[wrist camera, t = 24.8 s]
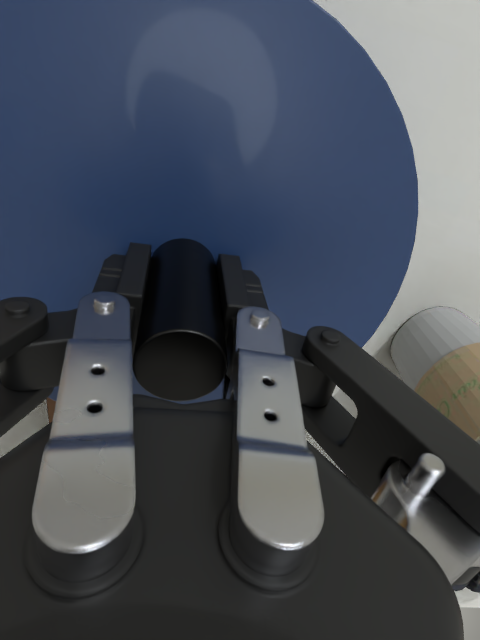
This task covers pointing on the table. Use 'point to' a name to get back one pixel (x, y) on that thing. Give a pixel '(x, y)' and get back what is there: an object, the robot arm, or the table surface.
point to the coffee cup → (443, 363)
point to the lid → (201, 169)
